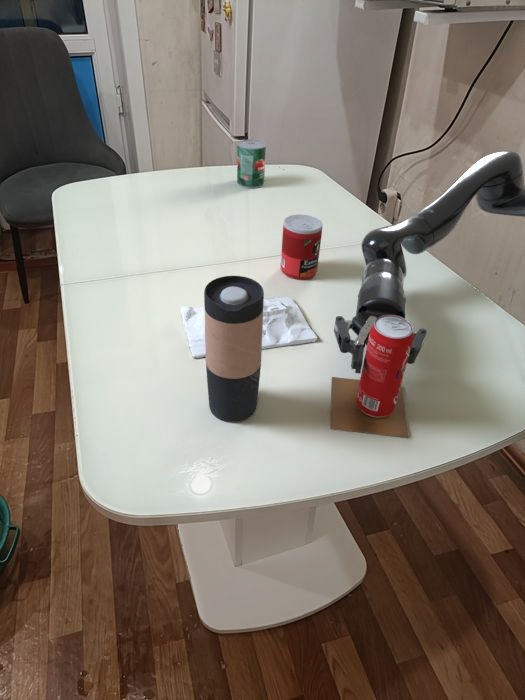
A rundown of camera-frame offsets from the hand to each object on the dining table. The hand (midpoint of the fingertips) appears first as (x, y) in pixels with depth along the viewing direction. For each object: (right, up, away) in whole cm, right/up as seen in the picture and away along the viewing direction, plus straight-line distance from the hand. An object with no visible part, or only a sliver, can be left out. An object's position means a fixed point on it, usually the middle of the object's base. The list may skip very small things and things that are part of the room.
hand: (376, 371), depth 69 cm
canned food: (-8, +20, +39) cm, 44 cm away
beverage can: (+1, -5, +7) cm, 9 cm away
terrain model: (-18, +7, +23) cm, 30 cm away
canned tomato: (-19, +51, +78) cm, 95 cm away
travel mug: (-20, -5, +7) cm, 22 cm away
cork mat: (0, -6, +8) cm, 10 cm away
